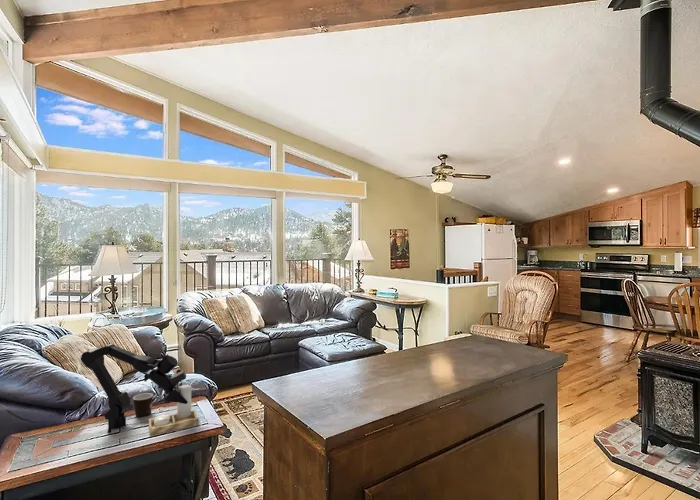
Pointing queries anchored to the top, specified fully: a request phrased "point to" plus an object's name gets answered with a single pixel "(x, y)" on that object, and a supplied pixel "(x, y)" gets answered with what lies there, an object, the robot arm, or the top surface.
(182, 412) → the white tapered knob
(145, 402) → the coffee mug
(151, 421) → the open wooden box
